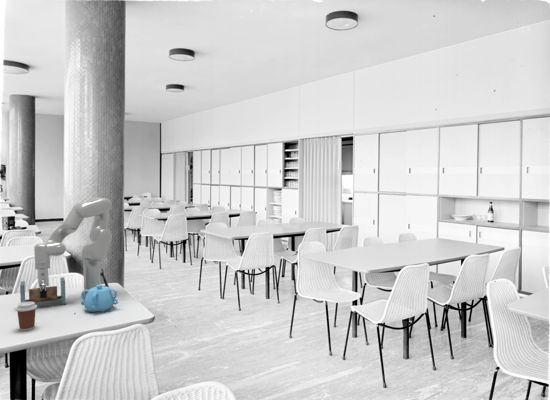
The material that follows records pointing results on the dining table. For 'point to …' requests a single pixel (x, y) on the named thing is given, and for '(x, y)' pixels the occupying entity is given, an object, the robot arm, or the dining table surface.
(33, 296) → the brown rectangular block
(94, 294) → the decorative pot
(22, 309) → the coffee cup
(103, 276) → the phone stand
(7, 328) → the dining table surface
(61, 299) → the door track
